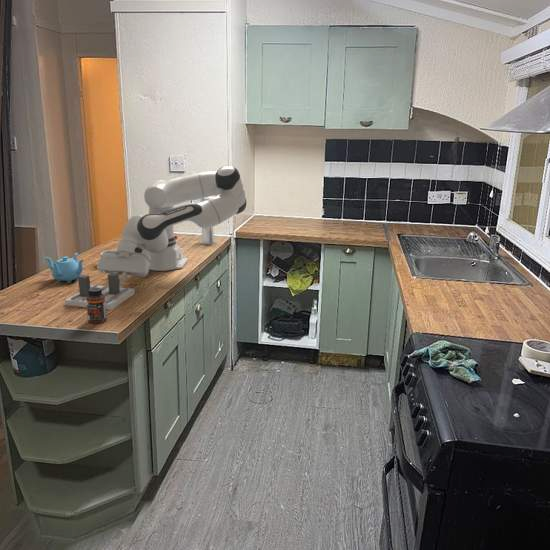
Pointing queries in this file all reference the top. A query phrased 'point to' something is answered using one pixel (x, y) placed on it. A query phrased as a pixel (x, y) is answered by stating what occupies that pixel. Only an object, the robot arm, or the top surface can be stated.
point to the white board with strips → (110, 299)
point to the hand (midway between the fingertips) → (117, 283)
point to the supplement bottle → (96, 306)
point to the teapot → (66, 268)
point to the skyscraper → (207, 231)
